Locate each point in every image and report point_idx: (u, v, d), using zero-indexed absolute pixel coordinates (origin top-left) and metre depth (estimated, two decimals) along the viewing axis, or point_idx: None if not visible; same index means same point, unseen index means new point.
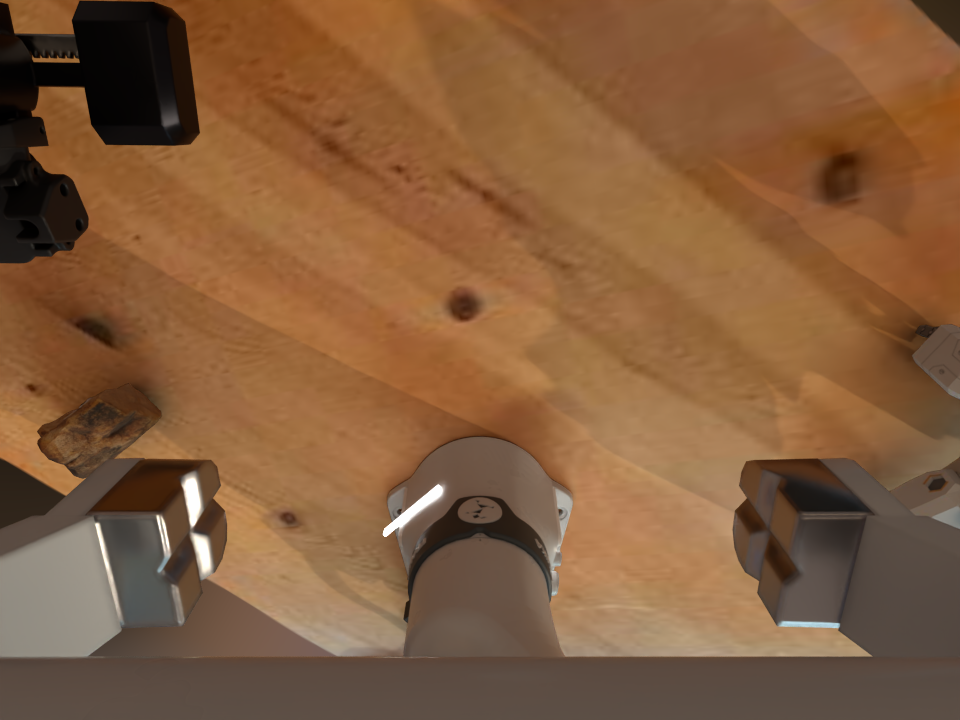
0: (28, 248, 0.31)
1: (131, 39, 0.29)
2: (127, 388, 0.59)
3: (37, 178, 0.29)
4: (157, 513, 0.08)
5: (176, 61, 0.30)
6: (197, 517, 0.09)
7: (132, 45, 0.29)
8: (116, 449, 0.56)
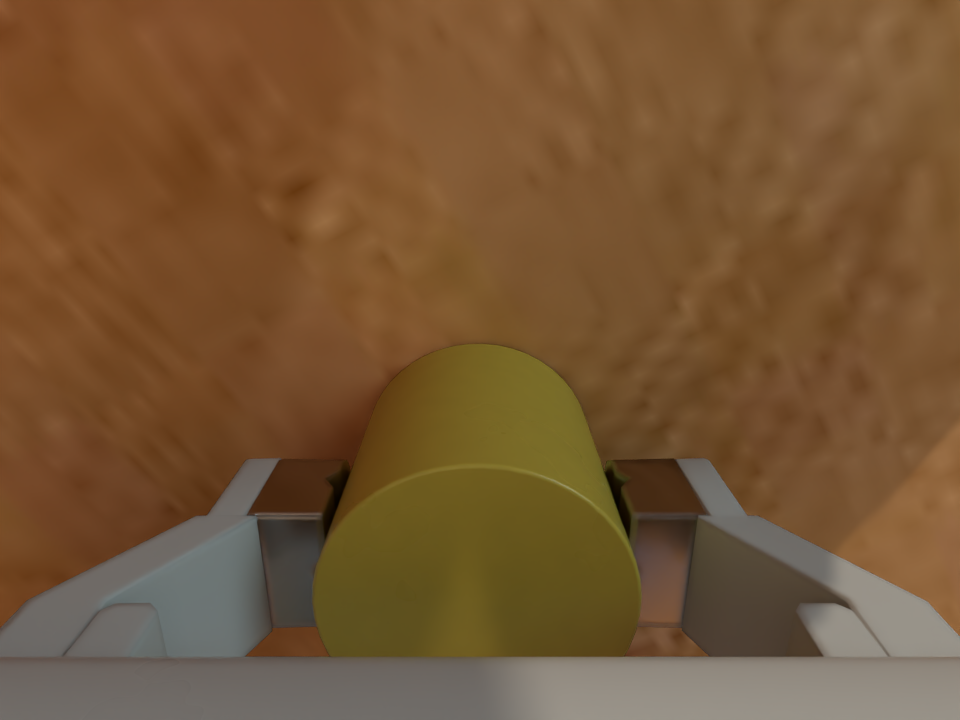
0: None
1: None
2: None
3: None
4: (318, 513, 0.08)
5: None
6: None
7: None
8: None
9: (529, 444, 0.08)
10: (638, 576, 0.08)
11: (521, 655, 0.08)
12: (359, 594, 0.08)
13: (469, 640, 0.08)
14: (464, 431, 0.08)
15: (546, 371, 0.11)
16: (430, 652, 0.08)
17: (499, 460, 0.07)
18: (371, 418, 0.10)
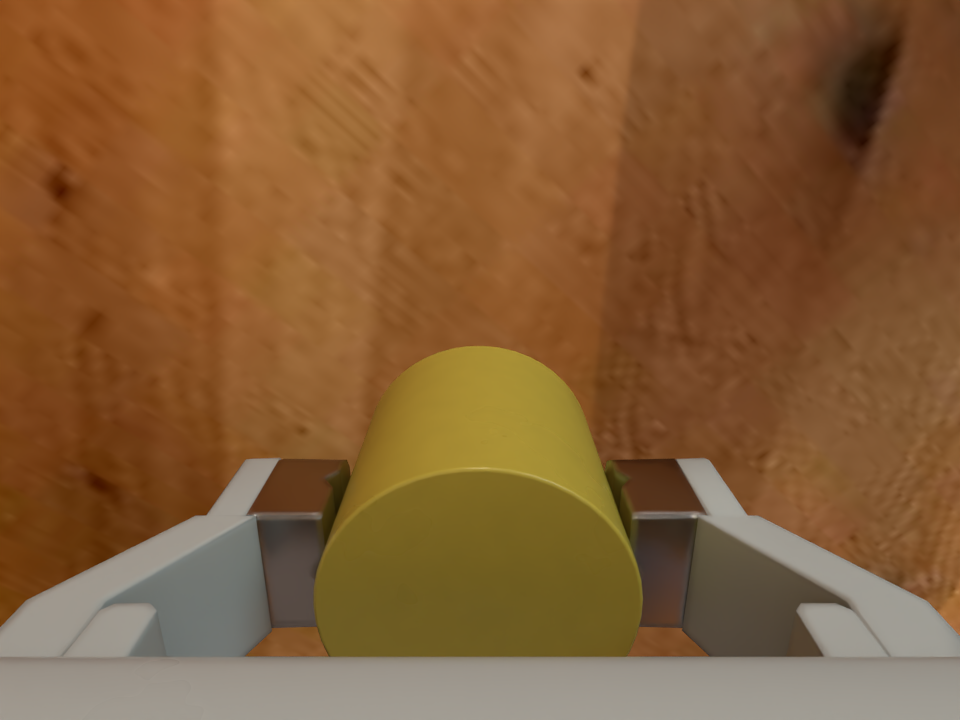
0: None
1: None
2: None
3: None
4: (317, 513, 0.08)
5: None
6: None
7: None
8: None
9: (530, 447, 0.08)
10: (639, 579, 0.08)
11: None
12: (360, 597, 0.08)
13: (470, 643, 0.08)
14: (465, 434, 0.08)
15: (547, 373, 0.11)
16: (431, 655, 0.08)
17: (500, 464, 0.07)
18: (372, 420, 0.10)
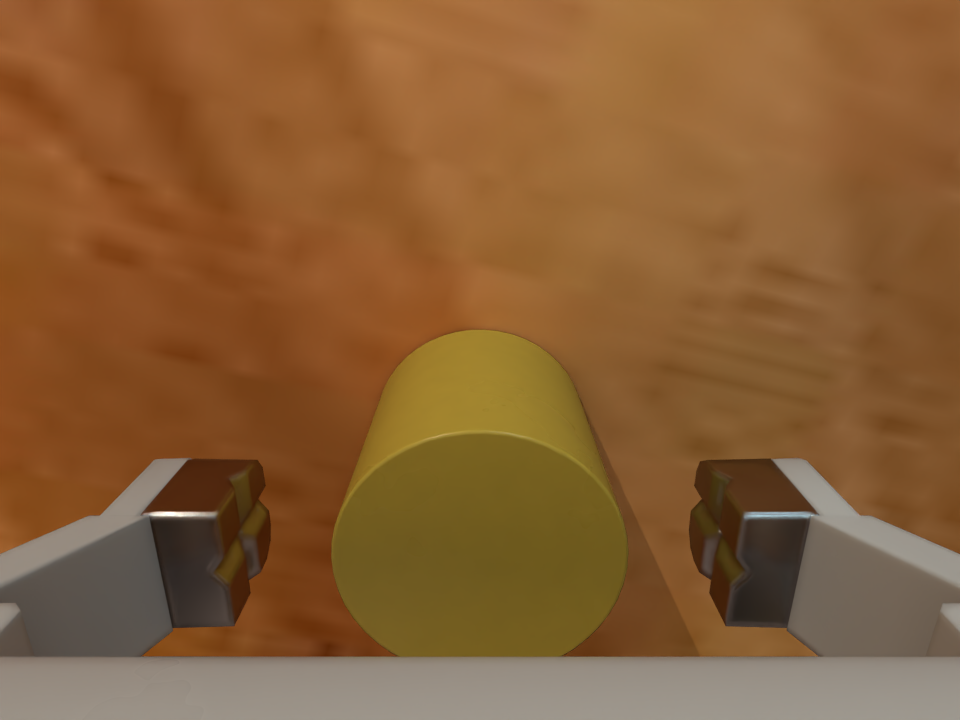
0: None
1: None
2: None
3: None
4: (212, 513, 0.08)
5: None
6: (245, 517, 0.09)
7: None
8: None
9: (526, 414, 0.09)
10: (625, 533, 0.08)
11: (519, 607, 0.09)
12: (373, 550, 0.08)
13: (472, 593, 0.09)
14: (468, 403, 0.09)
15: (543, 355, 0.11)
16: (437, 604, 0.09)
17: (500, 427, 0.08)
18: (381, 398, 0.11)
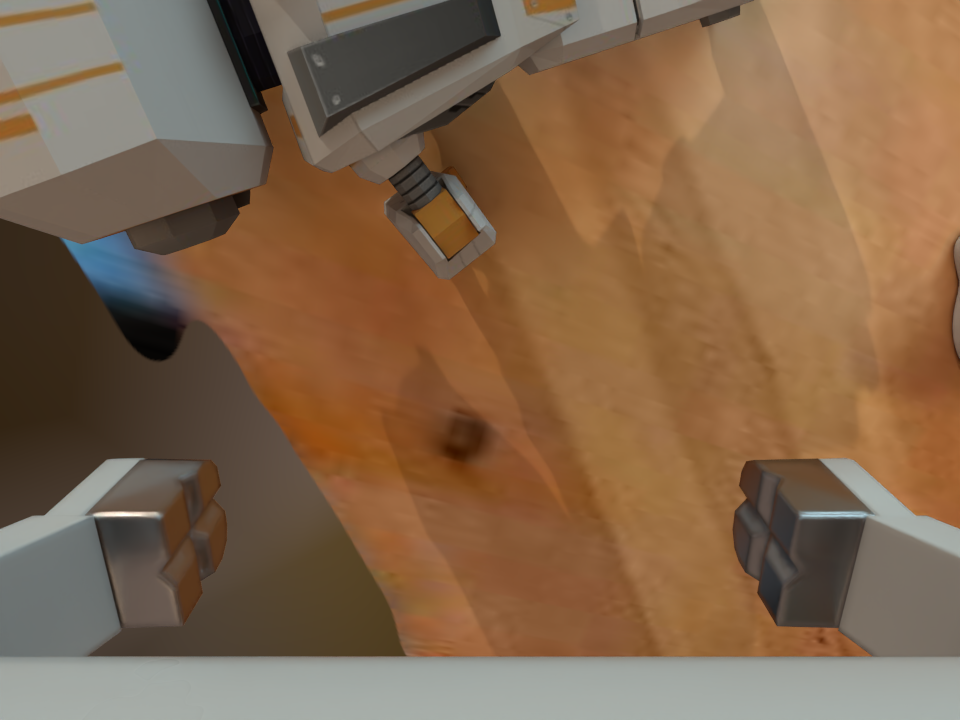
0: None
1: None
2: None
3: None
4: (157, 513, 0.08)
5: None
6: (197, 517, 0.09)
7: None
8: None
9: None
10: None
11: None
12: None
13: None
14: None
15: None
16: None
17: None
18: None
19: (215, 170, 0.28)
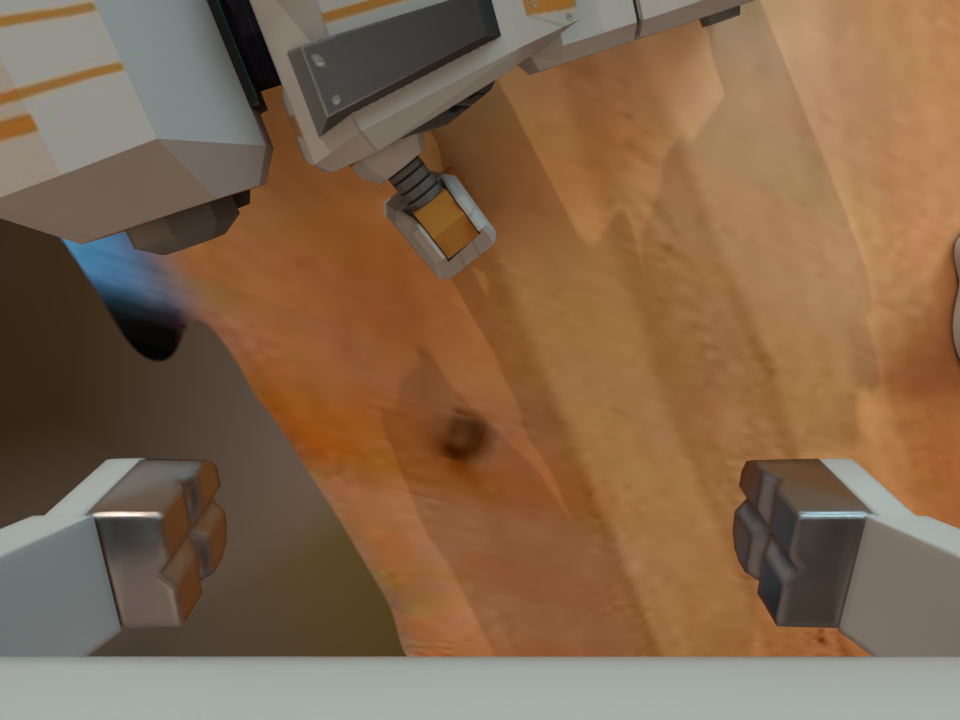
0: None
1: None
2: None
3: None
4: (157, 513, 0.08)
5: None
6: (197, 517, 0.09)
7: None
8: None
9: None
10: None
11: None
12: None
13: None
14: None
15: None
16: None
17: None
18: None
19: (215, 170, 0.28)
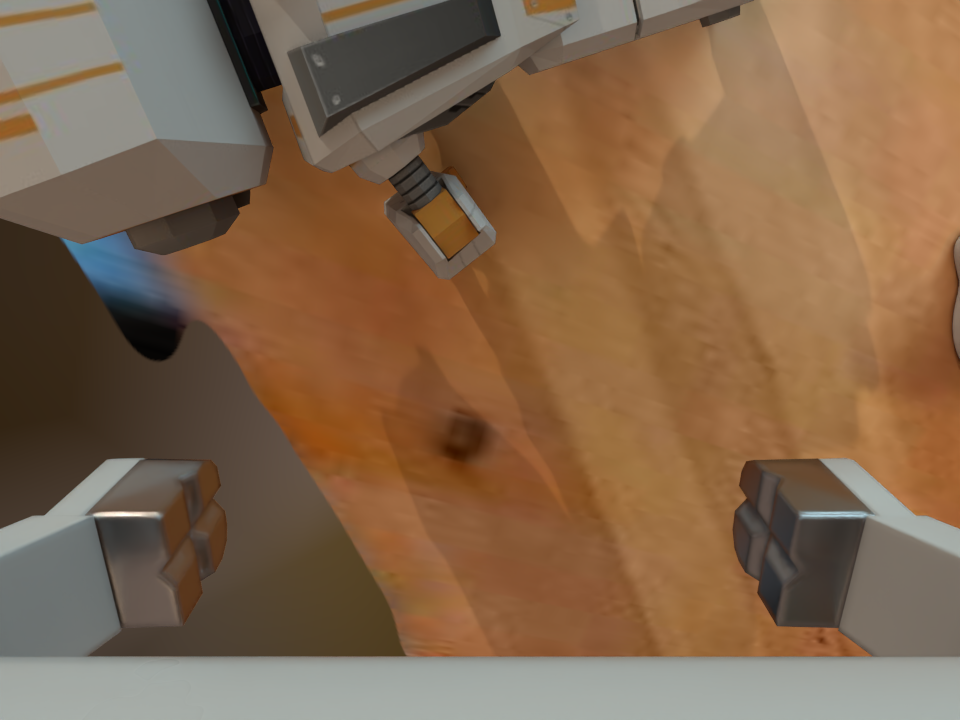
0: None
1: None
2: None
3: None
4: (157, 513, 0.08)
5: None
6: (197, 517, 0.09)
7: None
8: None
9: None
10: None
11: None
12: None
13: None
14: None
15: None
16: None
17: None
18: None
19: (215, 170, 0.28)
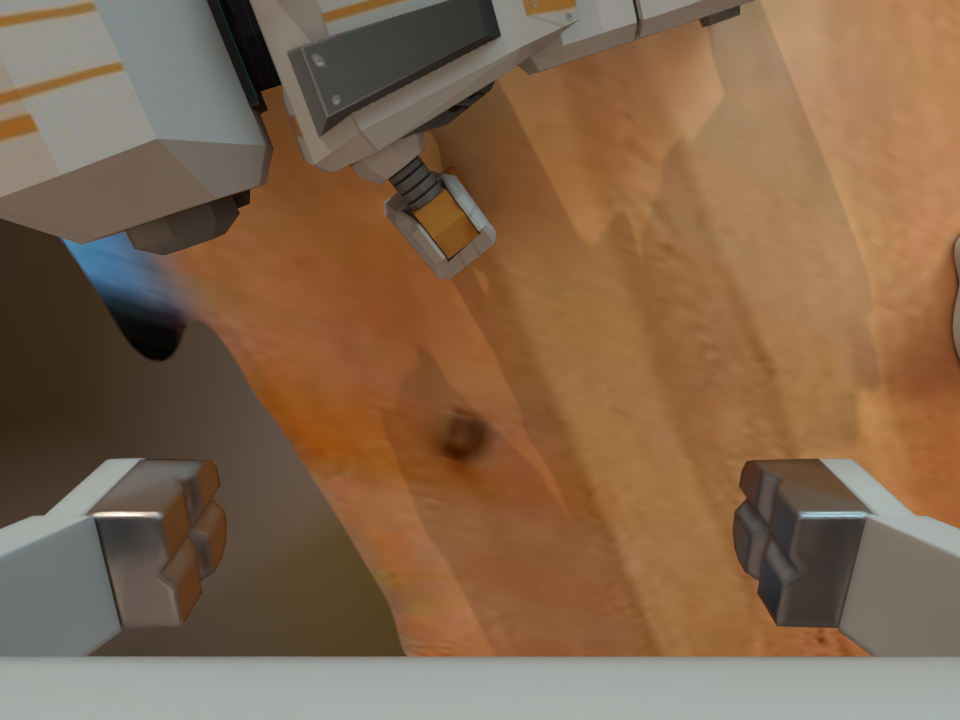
0: None
1: None
2: None
3: None
4: (157, 513, 0.08)
5: None
6: (197, 517, 0.09)
7: None
8: None
9: None
10: None
11: None
12: None
13: None
14: None
15: None
16: None
17: None
18: None
19: (215, 170, 0.28)
